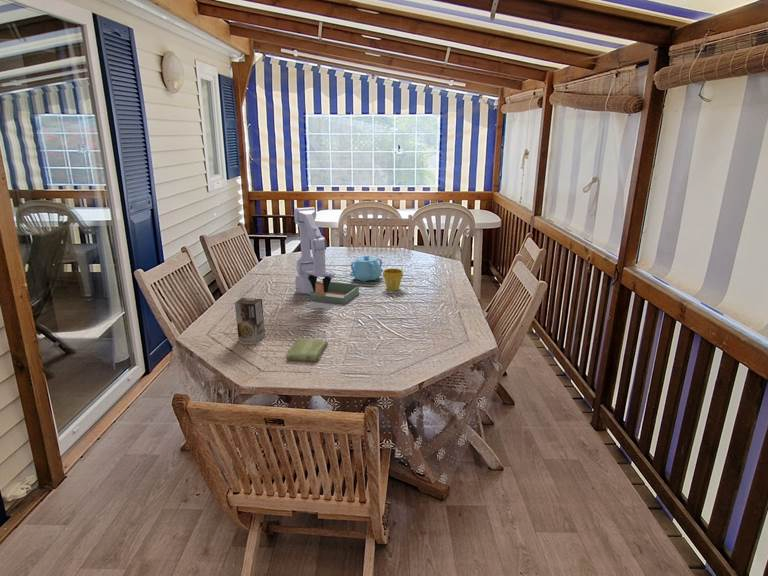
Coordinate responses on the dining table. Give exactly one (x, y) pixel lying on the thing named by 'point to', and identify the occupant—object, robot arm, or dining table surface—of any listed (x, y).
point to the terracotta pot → (319, 288)
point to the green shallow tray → (337, 293)
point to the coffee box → (250, 319)
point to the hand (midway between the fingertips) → (320, 291)
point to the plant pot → (392, 278)
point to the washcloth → (306, 350)
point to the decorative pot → (366, 268)
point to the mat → (320, 305)
